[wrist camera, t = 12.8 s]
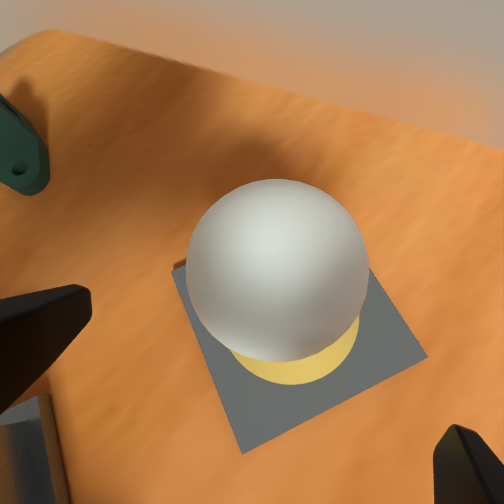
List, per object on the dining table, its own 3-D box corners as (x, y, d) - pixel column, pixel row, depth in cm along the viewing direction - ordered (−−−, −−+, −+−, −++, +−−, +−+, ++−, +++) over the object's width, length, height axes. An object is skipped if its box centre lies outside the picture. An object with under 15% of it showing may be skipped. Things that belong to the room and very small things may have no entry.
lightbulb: (290, 241, 20) (290, 102, 10) (358, 320, 18) (452, 252, 7) (210, 299, 19) (116, 217, 9) (271, 389, 17) (241, 419, 7)
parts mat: (423, 357, 17) (429, 356, 17) (243, 451, 17) (241, 455, 16) (322, 202, 21) (323, 196, 21) (174, 274, 21) (169, 270, 20)
